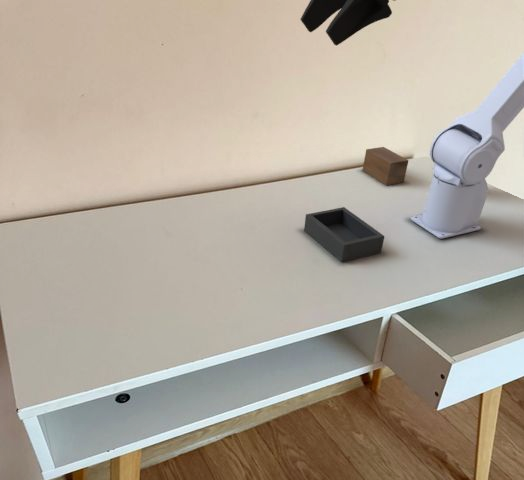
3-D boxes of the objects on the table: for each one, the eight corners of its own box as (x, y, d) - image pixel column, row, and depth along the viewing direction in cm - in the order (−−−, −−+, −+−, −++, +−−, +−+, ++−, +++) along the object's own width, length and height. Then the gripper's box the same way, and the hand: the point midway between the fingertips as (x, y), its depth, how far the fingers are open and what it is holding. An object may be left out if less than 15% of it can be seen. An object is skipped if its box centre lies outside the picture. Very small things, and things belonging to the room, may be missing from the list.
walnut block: (379, 168, 117) (383, 146, 114) (403, 182, 112) (408, 160, 109) (362, 170, 115) (366, 149, 112) (386, 185, 110) (390, 163, 107)
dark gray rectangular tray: (341, 223, 96) (344, 206, 94) (381, 252, 88) (384, 236, 86) (303, 230, 93) (305, 214, 91) (341, 262, 85) (344, 245, 83)
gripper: (355, -94, 69) (277, -5, 72) (419, -87, 59) (325, 17, 62) (381, -44, 74) (307, 38, 77) (445, -29, 64) (357, 65, 67)
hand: (317, 32), depth 70 cm, fingers open, 7 cm apart
